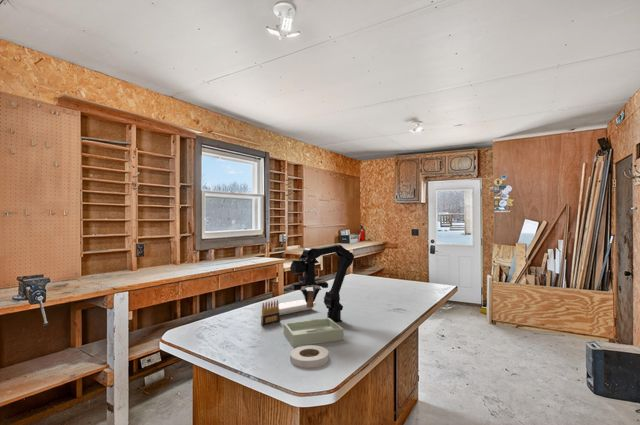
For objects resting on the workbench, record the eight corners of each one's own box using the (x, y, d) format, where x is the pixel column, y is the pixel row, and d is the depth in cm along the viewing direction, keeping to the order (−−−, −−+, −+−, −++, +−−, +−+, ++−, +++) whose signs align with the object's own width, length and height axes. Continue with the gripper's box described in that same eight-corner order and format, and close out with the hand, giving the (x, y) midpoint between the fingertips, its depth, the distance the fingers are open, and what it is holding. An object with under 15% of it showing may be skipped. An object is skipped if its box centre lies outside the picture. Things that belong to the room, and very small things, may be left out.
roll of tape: (282, 362, 125) (282, 355, 125) (304, 349, 138) (304, 342, 138) (315, 371, 117) (315, 364, 117) (335, 356, 130) (335, 349, 130)
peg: (312, 305, 170) (312, 290, 170) (314, 307, 166) (314, 291, 167) (305, 306, 169) (305, 291, 169) (307, 307, 165) (307, 292, 166)
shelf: (316, 311, 196) (315, 302, 197) (272, 320, 179) (272, 310, 179) (305, 307, 206) (305, 299, 206) (263, 315, 188) (263, 306, 188)
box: (329, 327, 164) (329, 317, 165) (343, 339, 147) (343, 328, 148) (283, 333, 156) (283, 323, 156) (293, 346, 139) (293, 335, 140)
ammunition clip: (262, 326, 168) (262, 303, 168) (261, 325, 169) (260, 302, 170) (279, 321, 175) (279, 299, 175) (277, 321, 176) (277, 299, 177)
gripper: (321, 269, 179) (321, 297, 178) (289, 270, 173) (289, 299, 172) (328, 271, 168) (328, 301, 168) (294, 273, 162) (294, 304, 162)
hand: (309, 301), depth 168 cm, fingers closed on peg, 4 cm apart
